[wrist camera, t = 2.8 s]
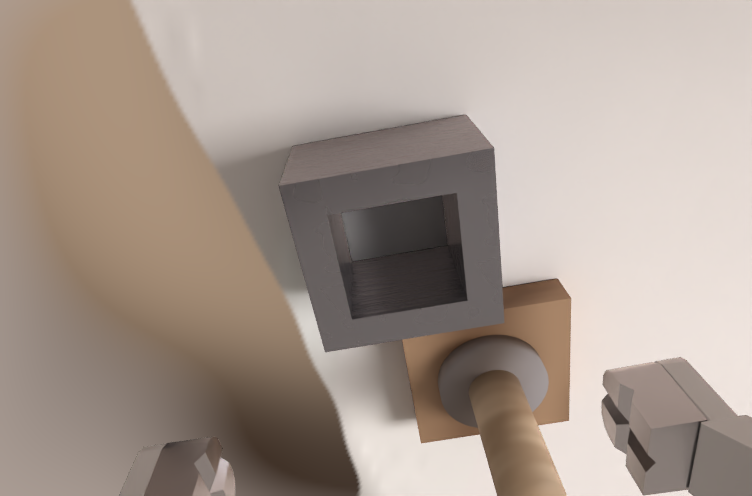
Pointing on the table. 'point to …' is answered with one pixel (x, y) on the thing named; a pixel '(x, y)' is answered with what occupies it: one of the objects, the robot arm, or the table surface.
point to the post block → (500, 386)
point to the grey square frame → (406, 270)
